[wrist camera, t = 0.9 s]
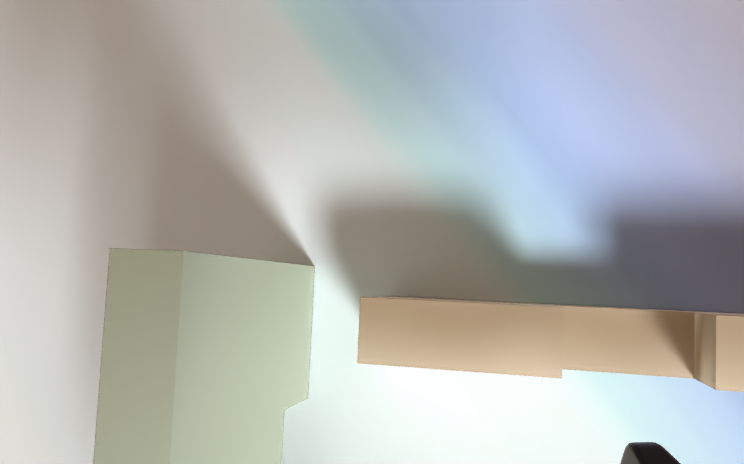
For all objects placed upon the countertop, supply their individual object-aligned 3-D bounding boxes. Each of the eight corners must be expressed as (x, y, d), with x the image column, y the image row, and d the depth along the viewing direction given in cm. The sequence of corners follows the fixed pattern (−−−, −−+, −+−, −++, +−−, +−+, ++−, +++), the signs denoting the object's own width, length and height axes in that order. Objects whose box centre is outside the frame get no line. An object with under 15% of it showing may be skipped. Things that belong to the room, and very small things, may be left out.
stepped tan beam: (884, 384, 21) (979, 409, 16) (387, 350, 25) (357, 362, 20) (883, 320, 21) (977, 328, 17) (389, 296, 25) (360, 297, 20)
